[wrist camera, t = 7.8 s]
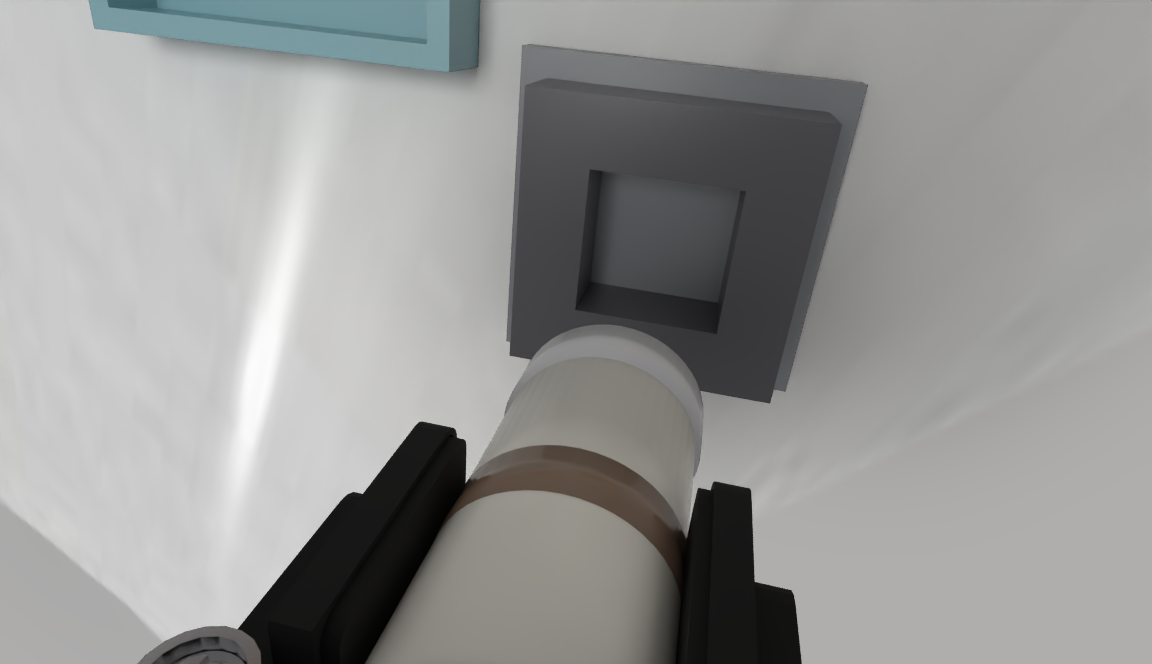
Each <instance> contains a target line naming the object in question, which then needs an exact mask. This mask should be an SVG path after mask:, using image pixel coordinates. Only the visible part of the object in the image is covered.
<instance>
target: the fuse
mask: <svg viewBox="0 0 1152 664" xmlns="http://www.w3.org/2000/svg"><path fill="white" fill-rule="evenodd" d="M702 428H703V402H702V396H701V393H700V390H699V387H698V384H697V382H696V380H695V378H694V376H693V374H692V372H691V371H690V369H689V368H688V367H687V365H686V364H685V363H684V361H683V360H682V359H681V358H680V357H679V356H678V355H677V354H676V353H675V352H674V351H673V350H671V349H670V348H669V347H668V346H667V345H665V344H663V343H662V342H660V341H659V340H657V339H656V338H654V337H652V336H650V335H648V334H646V333H643V332H640V331H638V330H635V329H631V328H627V327H623V326H616V325H589V326H582V327H579V328H575V329H571V330H569V331H566V332H564V333H562V334H560V335H558V336H556V337H555V338H553V339H551V340H550V341H549V342H547V343H546V344H545V345H544V346H542V347H541V349H540V350H539V351H538V352H537V353H536V354H535V355H534V357H533V358H532V360H531V361H530V363H529V364H528V366H527V368H526V369H525V371H524V373H523V375H522V376H521V378H520V380H519V382H518V383H517V385H516V387H515V388H514V390H513V392H512V394H511V396H510V398H509V400H508V403H507V406H506V410H505V415H504V418H503V420H502V422H501V424H500V426H499V427H498V429H497V431H496V433H495V434H494V436H493V438H492V440H491V441H490V443H489V445H488V447H487V449H486V450H485V452H484V454H483V456H482V457H481V459H480V461H479V463H478V464H477V466H476V468H475V470H474V471H473V473H472V475H471V477H470V478H469V479H468V481H467V482H466V484H465V485H464V486H463V488H462V490H461V492H460V494H459V495H458V497H457V499H456V501H455V502H454V504H453V506H452V508H451V509H450V511H449V513H448V515H447V516H446V518H445V520H444V522H443V523H442V525H441V527H440V529H439V530H438V532H437V535H436V537H435V539H434V541H433V544H432V546H431V547H430V549H429V551H428V553H427V555H426V556H425V558H424V560H423V562H422V563H421V565H420V567H419V569H418V570H417V572H416V574H415V576H414V578H413V579H412V581H411V583H410V585H409V586H408V588H407V590H406V592H405V593H404V595H403V597H402V599H401V600H400V602H399V604H398V606H397V608H396V609H395V611H394V613H393V615H392V616H391V618H390V620H389V622H388V623H387V625H386V627H385V629H384V631H383V632H382V634H381V636H380V638H379V639H378V641H377V643H376V645H375V646H374V648H373V650H372V652H371V654H370V655H369V657H368V659H367V661H366V662H365V664H676V654H677V643H678V632H679V621H680V609H681V602H682V595H683V584H684V572H685V561H686V550H687V546H686V542H687V535H688V529H689V518H690V506H691V494H692V483H693V478H694V476H695V474H696V471H697V468H698V465H699V461H700V453H701V442H702Z"/></svg>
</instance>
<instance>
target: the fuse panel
mask: <svg viewBox="0 0 1152 664" xmlns="http://www.w3.org/2000/svg"><path fill="white" fill-rule="evenodd" d="M867 86H868V85H867V84H865V83H863V82H854V81H846V80H837V79H828V78H820V77H811V76H802V75H793V74H785V73H776V72H767V71H758V70H750V69H741V68H732V67H724V66H715V65H706V64H697V63H689V62H680V61H671V60H663V59H654V58H645V57H636V56H628V55H619V54H610V53H601V52H593V51H584V50H575V49H567V48H558V47H549V46H540V45H532V44H528V45H522V62H521V80H520V99H519V117H518V136H517V155H516V173H515V192H514V210H513V229H512V247H511V266H510V285H509V303H508V322H507V340H506V341H509V342H510V356H515V357H520V358H526V359H531V360H532V358H533V357H534V355H535V354H536V353H537V352H538V351H539V350H540V349H541V347H542V346H544V345H545V344H546V343H547V342H549V341H550V340H551V339H553V338H555V337H556V336H558V335H560V334H562V333H564V332H566V331H569V330H571V329H575V328H579V327H582V326H589V325H616V326H623V327H627V328H631V329H635V330H638V331H640V332H643V333H646V334H648V335H650V336H652V337H654V338H656V339H657V340H659V341H660V342H662V343H663V344H665V345H667V346H668V347H669V348H670V349H671V350H673V351H674V352H675V353H676V354H677V355H678V356H679V357H680V358H681V359H682V360H683V361H684V363H685V364H686V365H687V367H688V368H689V369H690V371H691V372H692V374H693V376H694V378H695V380H696V382H697V384H698V387H699V390H700V391H705V392H710V393H716V394H721V395H727V396H732V397H738V398H743V399H748V400H754V401H759V402H765V403H770V401H771V397H772V394H773V390H780V391H786V387H787V384H788V380H789V376H790V372H791V369H792V365H793V361H794V358H795V354H796V350H797V346H798V343H799V339H800V335H801V332H802V328H803V324H804V320H805V317H806V313H807V309H808V306H809V302H810V298H811V294H812V291H813V287H814V283H815V280H816V276H817V272H818V268H819V265H820V261H821V257H822V254H823V250H824V246H825V242H826V239H827V235H828V231H829V228H830V224H831V220H832V216H833V213H834V209H835V205H836V202H837V198H838V194H839V190H840V187H841V183H842V179H843V176H844V172H845V168H846V164H847V161H848V157H849V153H850V149H851V146H852V142H853V138H854V135H855V131H856V127H857V123H858V120H859V116H860V112H861V109H862V105H863V101H864V97H865V94H866V90H867Z"/></svg>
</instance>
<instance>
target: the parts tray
mask: <svg viewBox="0 0 1152 664" xmlns="http://www.w3.org/2000/svg"><path fill="white" fill-rule="evenodd" d="M89 4H90V9H91V14H92V19H93V24H94V29H101V30H109V31H118V32H126V33H134V34H142V35H150V36H158V37H166V38H174V39H183V40H191V41H199V42H207V43H215V44H223V45H231V46H239V47H248V48H256V49H264V50H272V51H280V52H288V53H296V54H304V55H313V56H321V57H329V58H337V59H345V60H353V61H361V62H369V63H378V64H386V65H394V66H402V67H410V68H418V69H426V70H435V71H443V72H453V71H458V70H463V69H468V68H474V67H478V42H479V6H480V0H89Z"/></svg>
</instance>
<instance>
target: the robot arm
mask: <svg viewBox="0 0 1152 664" xmlns="http://www.w3.org/2000/svg"><path fill="white" fill-rule="evenodd" d="M465 481H466V442H465V440H464V439H459V438H457V433H456V430H455V429H454V428H451V427H446V426H441V425H436V424H431V423H426V422H419V423H418V424H417V425H416V426H415V427H414V428H413V430H412V431H411V432H410V434H409V435H408V436H407V437H406V439H405V440H404V441H403V443H402V444H401V445H400V447H399V448H398V449H397V450H396V452H395V453H394V454H393V456H392V457H391V458H390V460H389V461H388V462H387V463H386V465H385V466H384V467H383V469H382V470H381V471H380V473H379V474H378V475H377V476H376V478H375V479H374V480H373V482H372V483H371V484H370V486H369V487H368V488H367V489H366V491H365V492H364V493H363V494H360V493H355V492H352V493H350V494H348V495H346V496H345V497H344V498H343V499H342V500H341V501H340V502H339V504H338V505H337V506H336V507H335V509H334V510H333V511H332V512H331V514H330V515H329V516H328V517H327V519H326V520H325V521H324V522H323V524H322V525H321V526H320V527H319V529H318V530H317V531H316V532H315V534H314V535H313V536H312V537H311V539H310V540H309V541H308V542H307V544H306V545H305V546H304V547H303V549H302V550H301V551H300V552H299V553H298V555H297V556H296V557H295V558H294V560H293V561H292V562H291V563H290V565H289V566H288V567H287V568H286V570H285V571H284V572H283V573H282V575H281V576H280V577H279V578H278V580H277V581H276V582H275V583H274V585H273V586H272V587H271V588H270V590H269V591H268V592H267V593H266V595H265V596H264V597H263V598H262V600H261V601H260V602H259V603H258V605H257V606H256V607H255V608H254V609H253V611H252V612H251V613H250V614H249V616H248V617H247V618H246V619H245V621H244V622H243V623H242V624H241V626H240V627H239V628H238V629H234V628H230V627H227V626H208V627H202V628H198V629H194V630H190V631H186V632H184V633H181V634H179V635H177V636H175V637H173V638H171V639H169V640H166V641H164V642H163V643H162V644H160V645H159V646H157V647H156V648H155V649H153V650H152V651H150V652H149V653H148V654H146V655H145V656H144V657H143V658H142V659H141V661H140V662H139V663H138V664H365V662H366V661H367V659H368V657H369V655H370V654H371V652H372V650H373V648H374V646H375V645H376V643H377V641H378V639H379V638H380V636H381V634H382V632H383V631H384V629H385V627H386V625H387V623H388V622H389V620H390V618H391V616H392V615H393V613H394V611H395V609H396V608H397V606H398V604H399V602H400V600H401V599H402V597H403V595H404V593H405V592H406V590H407V588H408V586H409V585H410V583H411V581H412V579H413V578H414V576H415V574H416V572H417V570H418V569H419V567H420V565H421V563H422V562H423V560H424V558H425V556H426V555H427V553H428V551H429V549H430V547H431V546H432V544H433V541H434V539H435V537H436V535H437V532H438V530H439V529H440V527H441V525H442V523H443V522H444V520H445V518H446V516H447V515H448V513H449V511H450V509H451V508H452V506H453V504H454V502H455V501H456V499H457V497H458V495H459V494H460V492H461V490H462V488H463V486H464V485H465ZM686 546H687V550H686V561H685V572H684V584H683V595H682V602H681V609H680V621H679V632H678V643H677V654H676V664H802V663H801V653H800V643H799V634H798V624H797V615H796V605H795V599H794V595H793V593H792V591H791V590H788V589H783V588H778V587H774V586H770V585H766V584H761V583H757V582H755V581H754V554H753V527H752V499H751V490H750V489H749V488H744V487H739V486H735V485H730V484H725V483H720V482H715V481H714V482H713V485H712V488H711V490H706V489H701V488H698V490H697V494H696V499H695V503H694V508H693V512H692V517H691V521H690V526H689V531H688V535H687V542H686Z"/></svg>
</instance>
